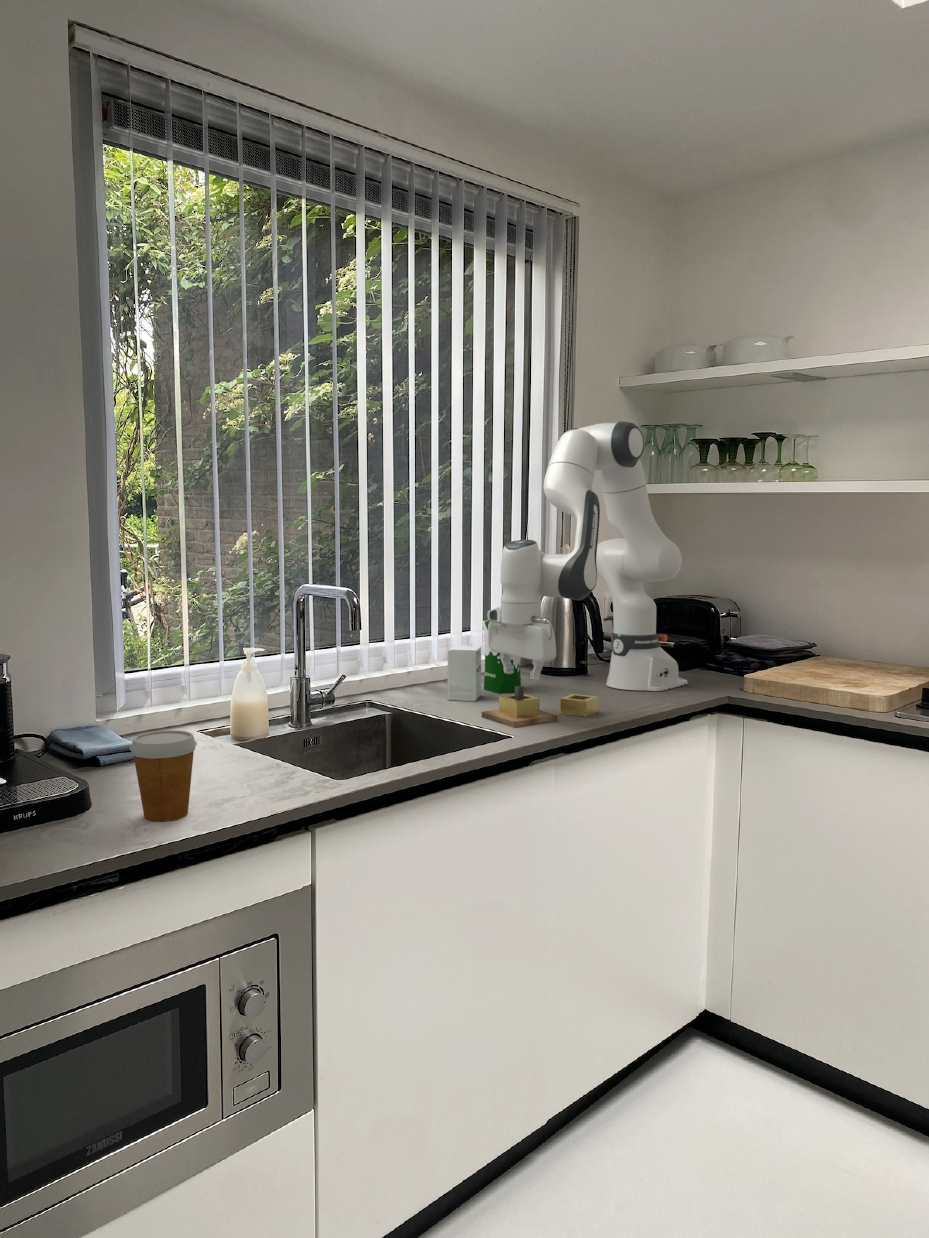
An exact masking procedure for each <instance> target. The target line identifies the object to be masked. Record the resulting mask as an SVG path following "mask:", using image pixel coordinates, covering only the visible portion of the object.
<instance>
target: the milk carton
mask: <svg viewBox="0 0 929 1238" xmlns="http://www.w3.org/2000/svg"><path fill="white" fill-rule="evenodd" d="M489 622H490V620H488V619H487V620H482V621H481V623H482V629H483V635H484V675H483V676H484V677H483V680H484V681H483V690H485V691H489V692H493V693H496V694H507V693H513V692H514V693H515V686H522V680H521V678H522V677H521V657H517V656H512V655H511V657H510V661H511V664H512V665H513V666H514V669H513V670H514V672H513V673H512V674H507V673H504V665H503V663H502V661H501V659H500V653H498V652H493V651H491V650H490V648H489V645H488V624H489Z"/></svg>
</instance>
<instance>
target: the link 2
mask: <svg viewBox="0 0 929 1238" xmlns="http://www.w3.org/2000/svg"><path fill="white" fill-rule="evenodd" d="M598 703H599V696H595V695H594V696H593V695H589V694H588V695H586V694H576V693H570V694H568V695H566V696H563V697H561V698H560V715H565V716H572V715H575V716H574V717H580V716H583V717H582V718H588V717H590V716H592V715H594V714H596V713H595V712H597V713H598V708H599V707H598V706H599V704H598ZM589 715H590V716H589ZM587 716H588V717H587Z"/></svg>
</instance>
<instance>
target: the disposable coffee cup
mask: <svg viewBox="0 0 929 1238" xmlns="http://www.w3.org/2000/svg"><path fill="white" fill-rule="evenodd" d="M131 742H132V743H131V745H130V746H129V750H130V751H131V755H133V759H134V760H133V761H134V766H135V772H136V776H137V777H136V778H137V783H138V789H139V795H140V799H141V800H140V801H141V805H142V811H143V818H144V819H146V820H147V821H151V822H168V821H169V822H170V821H174V820H178V819H181V818H183V817H186V816H187V815H189V806H190V805H189V804H190V795H191V783H192V776H193V775H192V773H193V763H194V762H193V761H194V755H195V754H194V753H195V752H194V751H195V750H196V747H197V744H198V742H197V740H195V737H194V733H193V732H190V731H186V730H178V729H177V730H176V729H169V730H167V729H165V730H155V731H149V732H144V733H140V734H137V735H136V736H134V737H133V738H132V741H131Z"/></svg>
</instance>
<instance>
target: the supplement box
mask: <svg viewBox="0 0 929 1238" xmlns="http://www.w3.org/2000/svg"><path fill="white" fill-rule="evenodd" d="M481 696H482V646H479V645H477V646H476V645H475V646H473V645H453V646H452V647H450V648H448V649H447V699H446V700H448V701H462V702H476V701H477V700H478V699H479V698H480V697H481Z"/></svg>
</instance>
